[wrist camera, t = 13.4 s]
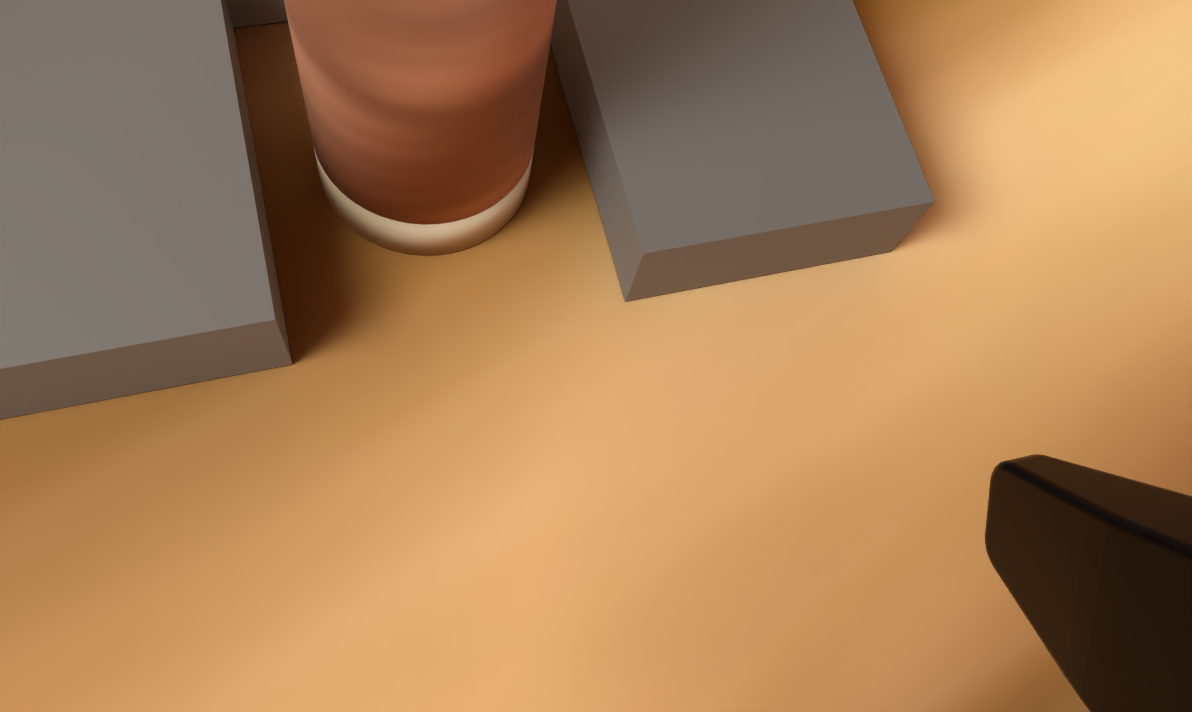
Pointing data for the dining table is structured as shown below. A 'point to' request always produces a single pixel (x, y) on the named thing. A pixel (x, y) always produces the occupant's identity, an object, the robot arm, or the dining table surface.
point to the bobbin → (423, 112)
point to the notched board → (236, 205)
